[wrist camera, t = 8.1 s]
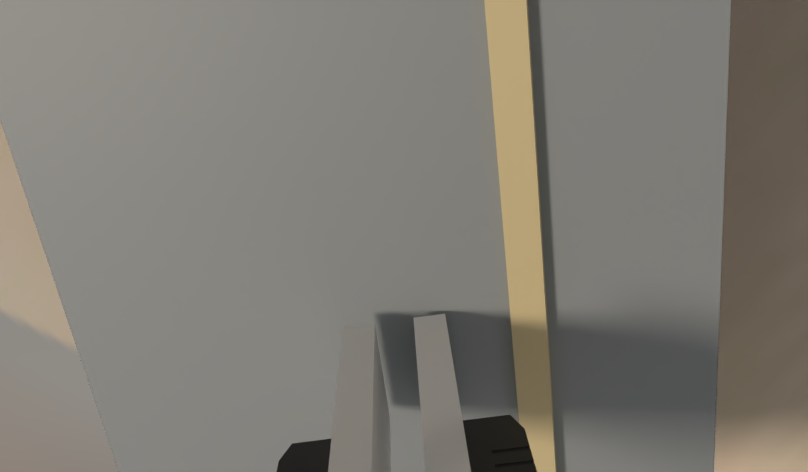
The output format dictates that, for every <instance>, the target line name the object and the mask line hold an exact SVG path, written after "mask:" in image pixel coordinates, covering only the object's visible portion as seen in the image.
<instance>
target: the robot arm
mask: <svg viewBox="0 0 808 472" xmlns="http://www.w3.org/2000/svg"><path fill="white" fill-rule="evenodd" d="M413 319H414V332H415V345H416V357H417V370H418V383H419V396H420V408H421V421H422V434H423V447H424V460H425V472H537V470H536V466H535V464H534V459H533V456H532V452H531V449H530V445H529V442H528V439H527V435H526V432H525V428H523V427H522V426H521V425H520V424H519V423H518V422H517V421H516V420H515V419H514V418H513V417H512V416H511V415H502V416H494V417H486V418H478V419H470V420H463V419H462V413H461V407H460V401H459V395H458V389H457V383H456V377H455V371H454V365H453V359H452V353H451V347H450V340H449V334H448V328H447V322H446V316H445V314H438V315H430V316H423V317H415V318H413ZM277 472H391V441H390V415H389V408H388V402H387V396H386V390H385V384H384V377H383V371H382V365H381V359H380V353H379V347H378V340H377V334H376V328H375V323H368V324H361V325H353V326H345V327H343V332H342V342H341V352H340V361H339V371H338V380H337V390H336V399H335V409H334V419H333V428H332V438H331V439H324V440H316V441H308V442H300V443H292V444H291V445H290V447H289V448H288V449H287V451H286V452H285V453H284V455H283V456H282V457H281V459H280V460H279V462H278V467H277Z"/></svg>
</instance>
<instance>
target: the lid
mask: <svg viewBox="0 0 808 472" xmlns="http://www.w3.org/2000/svg"><path fill="white" fill-rule="evenodd" d="M730 16H731V0H0V121H1V124H2V127H3V130H4V133H5V136H6V139H7V142H8V144H9V147H10V150H11V153H12V156H13V159H14V162H15V165H16V168H17V171H18V174H19V177H20V180H21V183H22V186H23V189H24V192H25V195H26V198H27V201H28V204H29V207H30V210H31V213H32V216H33V219H34V222H35V225H36V228H37V231H38V234H39V237H40V240H41V243H42V246H43V249H44V251H45V254H46V257H47V260H48V263H49V266H50V269H51V272H52V275H53V278H54V281H55V284H56V287H57V290H58V293H59V296H60V299H61V302H62V305H63V308H64V311H65V314H66V317H67V320H68V323H69V326H70V329H71V332H72V335H73V338H74V341H75V344H76V347H77V350H78V353H79V356H80V359H81V361H82V364H83V367H84V370H85V373H86V376H87V379H88V382H89V385H90V388H91V391H92V394H93V397H94V400H95V403H96V406H97V409H98V412H99V415H100V418H101V421H102V424H103V427H104V430H105V433H106V436H107V439H108V442H109V445H110V447H111V450H112V454H113V457H114V460H115V463H116V465H117V468H118V471H119V472H277V467H278V462H279V460H280V459H281V457H282V456H283V455H284V453H285V452H286V451H287V449H288V448H289V447H290V445H291V444H292V443H300V442H308V441H316V440H324V439H331V438H332V428H333V419H334V409H335V399H336V390H337V380H338V371H339V361H340V352H341V342H342V332H343V327H345V326H353V325H361V324H368V323H375V328H376V334H377V340H378V347H379V353H380V359H381V365H382V371H383V377H384V384H385V390H386V396H387V402H388V408H389V415H390V441H391V472H425V460H424V447H423V434H422V421H421V408H420V396H419V383H418V370H417V357H416V345H415V332H414V319H413V318H415V317H423V316H430V315H438V314H445V316H446V322H447V328H448V334H449V340H450V347H451V353H452V359H453V365H454V371H455V377H456V383H457V389H458V395H459V401H460V407H461V413H462V419H463V420H470V419H478V418H486V417H494V416H502V415H511V416H512V417H513V418H514V419H515V420H516V421H517V422H518V423H519V424H520V425H521V426H522V427H523V428H525V432H526V435H527V439H528V442H529V445H530V449H531V452H532V456H533V459H534V464H535V466H536V470H537V472H714V451H715V424H716V396H717V369H718V342H719V315H720V288H721V261H722V234H723V206H724V179H725V152H726V125H727V98H728V71H729V43H730Z"/></svg>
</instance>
